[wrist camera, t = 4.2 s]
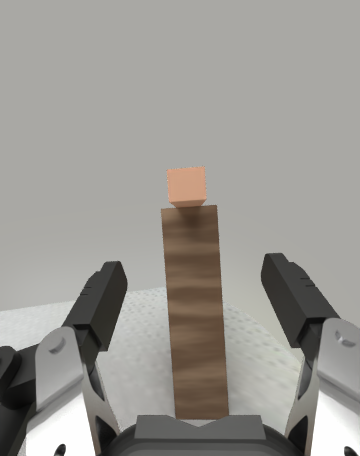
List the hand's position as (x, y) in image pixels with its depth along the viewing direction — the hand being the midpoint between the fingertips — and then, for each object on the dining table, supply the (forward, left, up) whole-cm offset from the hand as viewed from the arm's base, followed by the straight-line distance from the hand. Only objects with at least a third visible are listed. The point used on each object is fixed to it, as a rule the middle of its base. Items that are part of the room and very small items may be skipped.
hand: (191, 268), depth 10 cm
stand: (-10, +22, -27) cm, 36 cm away
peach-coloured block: (-8, +17, +5) cm, 19 cm away
